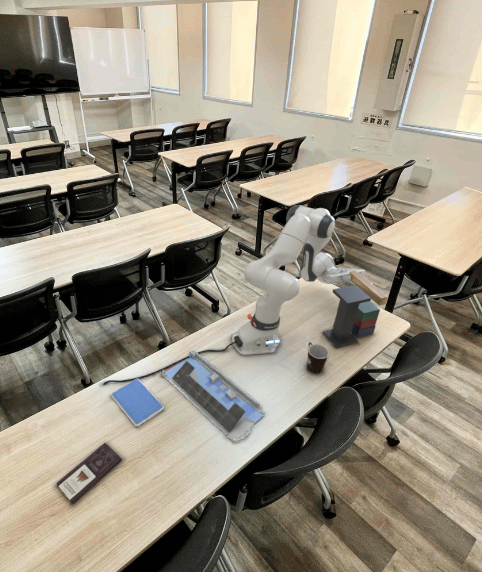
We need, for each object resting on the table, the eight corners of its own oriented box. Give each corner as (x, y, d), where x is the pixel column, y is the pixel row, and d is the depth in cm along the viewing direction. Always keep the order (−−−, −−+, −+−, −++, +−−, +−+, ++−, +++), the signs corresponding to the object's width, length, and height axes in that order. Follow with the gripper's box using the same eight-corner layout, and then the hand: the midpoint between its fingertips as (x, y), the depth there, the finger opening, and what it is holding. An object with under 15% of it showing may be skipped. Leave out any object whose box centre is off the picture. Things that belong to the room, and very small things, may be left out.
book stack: (356, 338, 172) (364, 313, 164) (338, 319, 184) (344, 295, 175) (373, 334, 175) (381, 309, 166) (354, 315, 186) (361, 292, 178)
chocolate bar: (121, 458, 119) (72, 502, 107) (121, 460, 119) (73, 504, 107) (105, 442, 123) (56, 483, 112) (105, 444, 124) (57, 484, 112)
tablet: (165, 408, 136) (165, 406, 136) (136, 428, 129) (136, 426, 129) (138, 379, 148) (137, 377, 147) (110, 396, 141) (109, 393, 140)
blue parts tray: (194, 353, 161) (193, 344, 158) (270, 416, 134) (272, 407, 131) (160, 374, 151) (159, 365, 147) (236, 447, 124) (237, 437, 121)
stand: (335, 348, 166) (347, 303, 151) (322, 333, 174) (332, 289, 160) (357, 343, 169) (371, 298, 155) (343, 328, 178) (355, 284, 163)
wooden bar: (379, 305, 158) (381, 298, 155) (347, 278, 176) (349, 271, 173) (385, 304, 159) (388, 296, 156) (354, 277, 177) (356, 270, 174)
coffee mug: (325, 377, 151) (329, 360, 146) (304, 373, 153) (307, 356, 147) (324, 357, 161) (328, 341, 155) (304, 354, 162) (308, 338, 156)
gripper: (320, 273, 183) (336, 273, 170) (354, 267, 188) (372, 267, 175) (321, 285, 183) (337, 286, 170) (355, 279, 189) (373, 279, 176)
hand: (355, 276), depth 173 cm, fingers closed on wooden bar, 3 cm apart
